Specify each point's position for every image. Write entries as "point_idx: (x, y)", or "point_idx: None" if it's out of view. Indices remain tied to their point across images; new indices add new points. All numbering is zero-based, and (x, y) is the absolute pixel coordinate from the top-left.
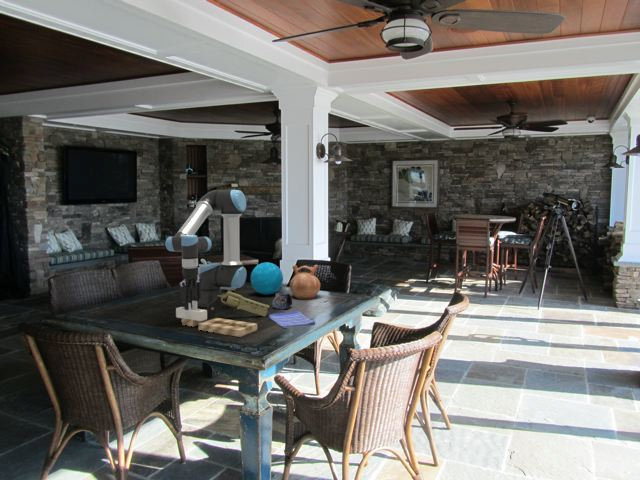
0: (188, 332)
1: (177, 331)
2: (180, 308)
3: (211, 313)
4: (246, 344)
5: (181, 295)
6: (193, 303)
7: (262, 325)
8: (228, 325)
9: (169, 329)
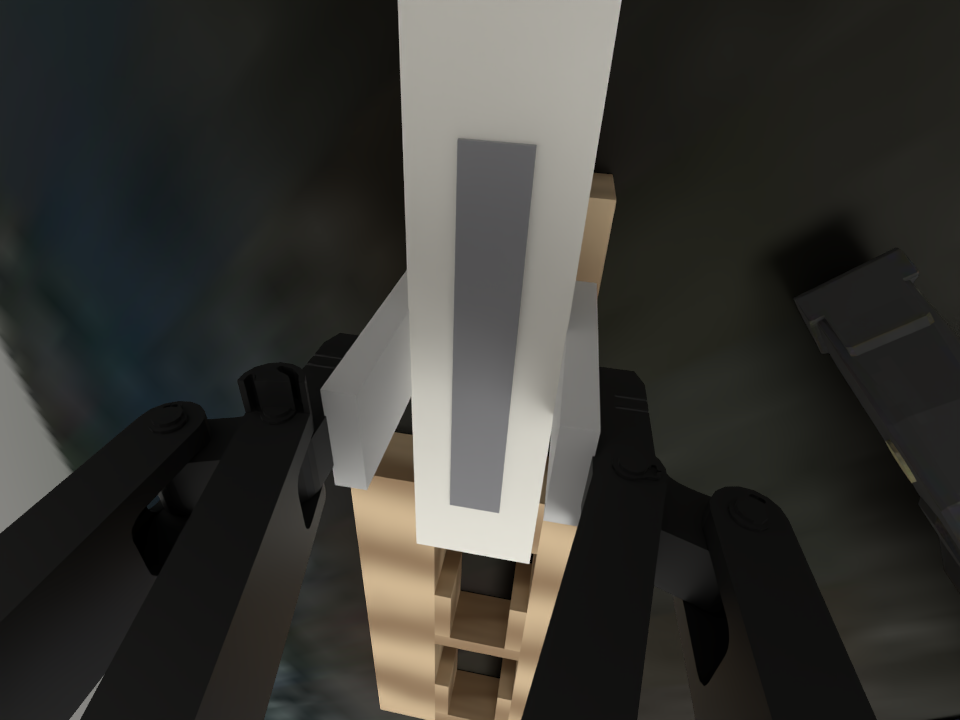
0: None
1: (226, 284)
2: (433, 123)
3: (860, 396)
4: (313, 699)
5: (8, 566)
6: (556, 423)
7: (689, 708)
8: (454, 642)
9: (212, 147)
